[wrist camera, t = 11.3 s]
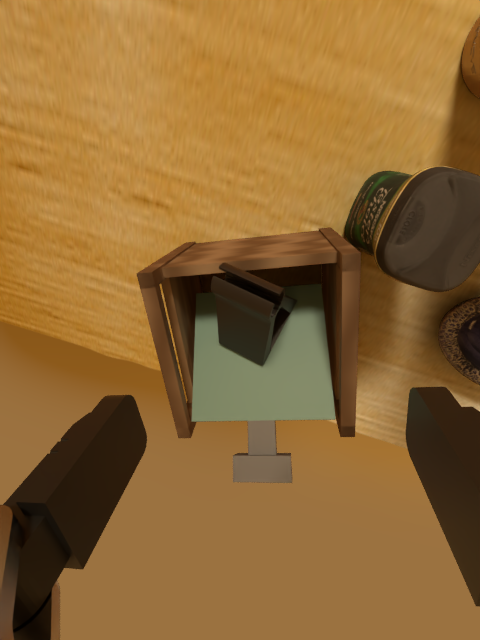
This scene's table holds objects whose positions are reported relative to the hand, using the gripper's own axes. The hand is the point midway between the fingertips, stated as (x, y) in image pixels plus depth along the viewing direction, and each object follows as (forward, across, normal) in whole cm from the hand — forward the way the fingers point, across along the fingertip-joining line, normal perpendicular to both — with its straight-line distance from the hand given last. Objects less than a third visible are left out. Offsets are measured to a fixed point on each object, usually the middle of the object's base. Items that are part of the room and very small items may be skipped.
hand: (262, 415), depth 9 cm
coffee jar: (+37, -12, 0) cm, 39 cm away
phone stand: (+27, +4, +9) cm, 29 cm away
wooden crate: (+36, +4, +10) cm, 38 cm away
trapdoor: (+24, +4, +15) cm, 29 cm away
